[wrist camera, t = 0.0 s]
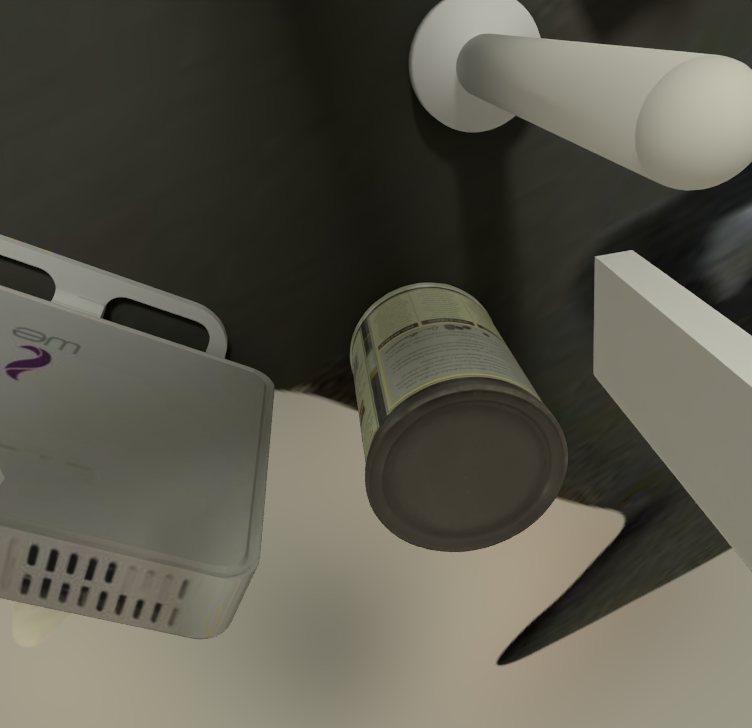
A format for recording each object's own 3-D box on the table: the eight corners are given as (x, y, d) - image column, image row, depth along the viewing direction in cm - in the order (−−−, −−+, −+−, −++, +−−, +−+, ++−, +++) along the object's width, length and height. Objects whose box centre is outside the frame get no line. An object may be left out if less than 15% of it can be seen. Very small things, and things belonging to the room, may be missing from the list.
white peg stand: (401, 1, 35) (574, -26, 13) (528, -20, 36) (932, -85, 13) (416, 136, 39) (574, 309, 16) (533, 116, 39) (858, 260, 16)
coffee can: (517, 377, 47) (593, 506, 35) (387, 435, 48) (415, 579, 36) (465, 253, 42) (531, 351, 30) (322, 321, 44) (329, 442, 31)
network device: (288, 334, 44) (276, 547, 26) (245, 437, 47) (209, 686, 30) (-142, 185, 37) (-543, 337, 20) (-155, 317, 41) (-507, 548, 23)
